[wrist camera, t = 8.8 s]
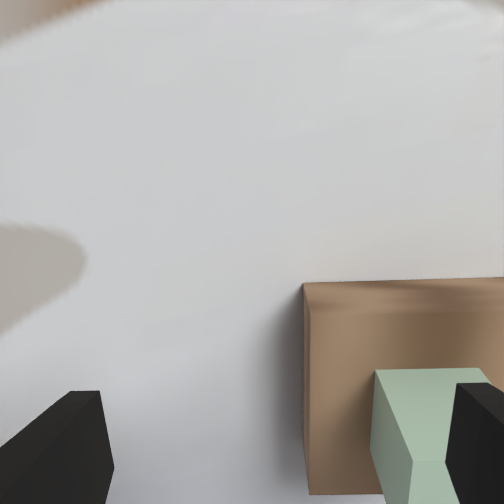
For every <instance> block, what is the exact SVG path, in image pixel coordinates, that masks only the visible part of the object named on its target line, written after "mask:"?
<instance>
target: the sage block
mask: <svg viewBox="0 0 504 504" xmlns="http://www.w3.org/2000/svg"><path fill="white" fill-rule="evenodd" d="M481 382H488V383H490V384H491V382H490V381H489V380H488V379H487V377H486V376H485V375H484V374H483V372H482V371H481V370H480V369H479V368H440V369H390V370H375V383H374V397H373V411H372V425H371V439H370V452H371V455H372V459H373V462H374V465H375V468H376V472H377V475H378V478H379V481H380V485H381V488H382V491H383V495H384V498H385V501H386V504H460V503H459V501H458V498H457V495H456V493H455V490H454V487H453V484H452V482H451V479H450V476H449V473H448V470H447V467H446V464H445V459H446V452H447V445H448V438H449V431H450V424H451V417H452V411H453V404H454V397H455V390H456V383H481ZM491 385H492V384H491Z"/></svg>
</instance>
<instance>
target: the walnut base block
mask: <svg viewBox="0 0 504 504" xmlns="http://www.w3.org/2000/svg"><path fill="white" fill-rule="evenodd" d="M440 368H479V369H480V370H481V371H482V372H483V374H484V375H485V376H486V377H487V379H488V380H489V381H490V382H491V384H492V385H493V386H494V387H496V388H498V389H499V390H501V391H502V392H504V277H494V278H459V279H424V280H389V281H354V282H319V283H303V447H304V455H305V464H306V472H307V480H308V488H309V495H345V494H383V491H382V488H381V485H380V481H379V478H378V475H377V472H376V468H375V465H374V462H373V459H372V455H371V452H370V439H371V425H372V411H373V397H374V383H375V370H390V369H440Z"/></svg>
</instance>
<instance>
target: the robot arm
mask: <svg viewBox="0 0 504 504" xmlns="http://www.w3.org/2000/svg"><path fill="white" fill-rule="evenodd" d="M445 464H446V467H447V470H448V473H449V476H450V479H451V482H452V484H453V487H454V490H455V493H456V495H457V498H458V501H459V503H460V504H504V392H502V391H501V390H499V389H498V388H496V387H494V386H493V385H491V384H490V383H488V382H481V383H456V390H455V397H454V404H453V411H452V417H451V424H450V431H449V438H448V445H447V452H446V459H445ZM113 471H114V463H113V458H112V453H111V448H110V442H109V437H108V432H107V427H106V422H105V417H104V411H103V406H102V401H101V396H100V391H70V392H69V393H67V394H66V395H64V396H63V397H62V398H61V399H59V400H58V401H57V402H55V403H54V404H53V405H52V406H50V407H49V408H48V409H47V410H46V411H44V412H43V413H42V414H41V415H39V416H38V417H37V418H36V419H35V420H33V421H32V422H31V423H30V424H29V425H27V426H26V427H25V428H24V429H22V430H21V431H20V432H19V433H18V434H16V435H15V436H14V437H13V438H12V439H10V440H9V441H8V442H7V443H5V444H4V445H3V446H2V447H0V504H105V502H106V498H107V495H108V491H109V487H110V483H111V479H112V475H113Z"/></svg>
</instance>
